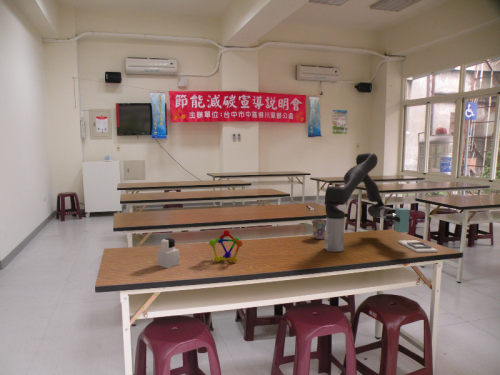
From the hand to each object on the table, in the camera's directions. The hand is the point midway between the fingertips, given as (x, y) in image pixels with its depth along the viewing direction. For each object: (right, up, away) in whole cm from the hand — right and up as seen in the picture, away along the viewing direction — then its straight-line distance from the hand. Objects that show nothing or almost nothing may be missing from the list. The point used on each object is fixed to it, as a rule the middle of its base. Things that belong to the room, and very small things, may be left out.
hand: (404, 220), depth 181 cm
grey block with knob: (-117, -19, -23) cm, 121 cm away
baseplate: (+10, -15, +7) cm, 19 cm away
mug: (-40, -13, +28) cm, 50 cm away
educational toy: (-92, -18, -15) cm, 95 cm away
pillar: (0, -6, +3) cm, 7 cm away
